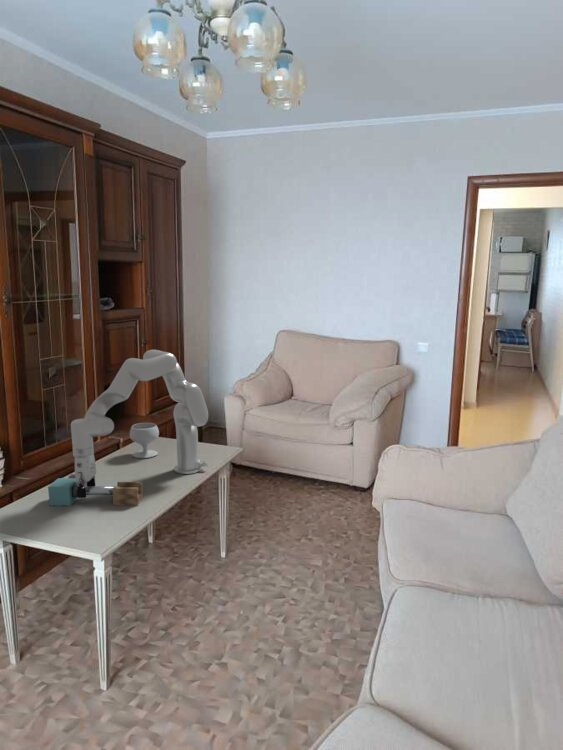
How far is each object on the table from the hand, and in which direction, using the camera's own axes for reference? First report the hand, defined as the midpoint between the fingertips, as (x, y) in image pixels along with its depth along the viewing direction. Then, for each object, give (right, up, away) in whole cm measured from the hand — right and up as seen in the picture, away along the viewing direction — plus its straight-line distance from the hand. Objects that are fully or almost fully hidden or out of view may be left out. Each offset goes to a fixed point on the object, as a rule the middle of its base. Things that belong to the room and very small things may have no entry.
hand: (86, 492), depth 213 cm
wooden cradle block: (+16, -4, 0) cm, 17 cm away
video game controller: (-9, -1, +14) cm, 17 cm away
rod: (0, -2, 0) cm, 2 cm away
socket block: (-9, -4, +1) cm, 10 cm away
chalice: (+9, +6, +55) cm, 56 cm away
